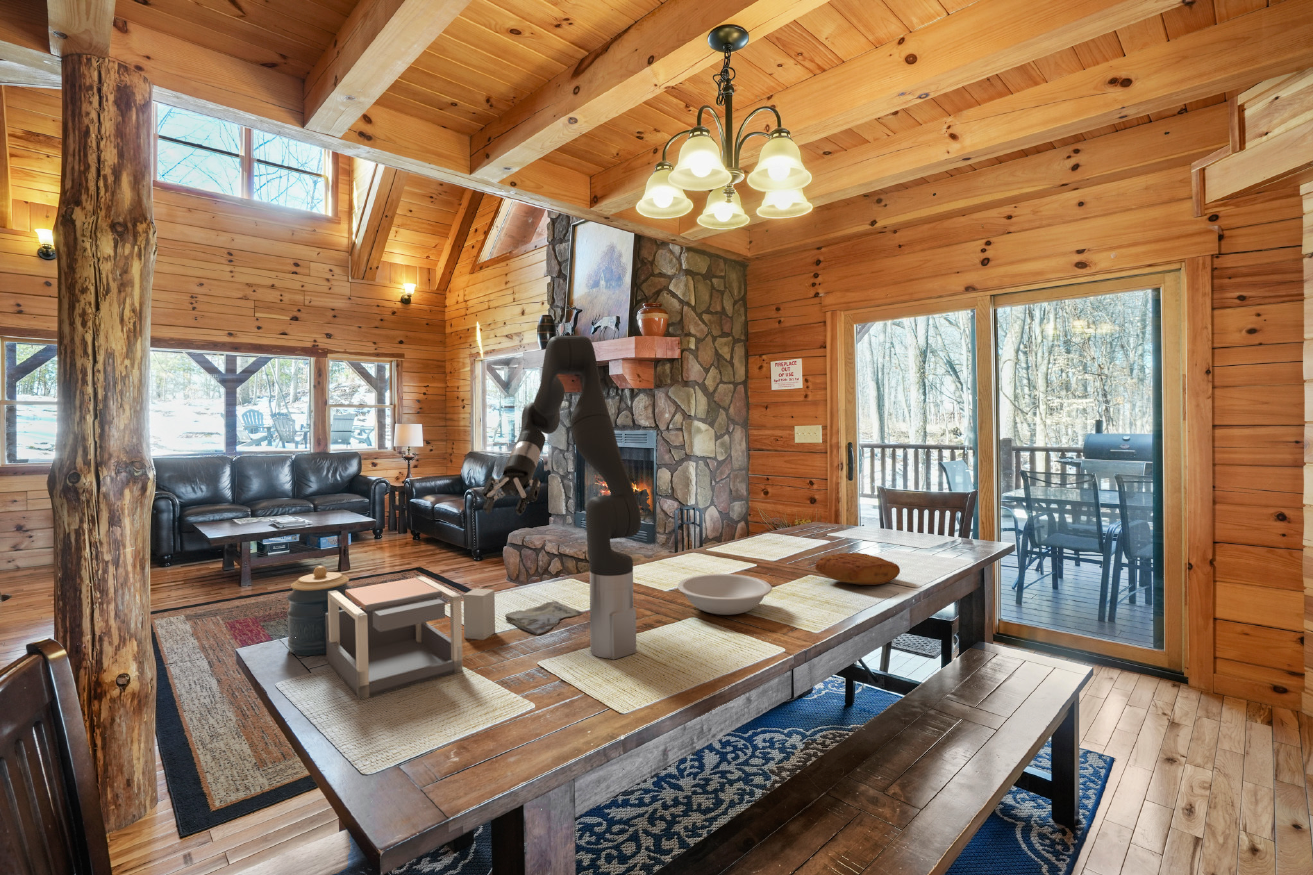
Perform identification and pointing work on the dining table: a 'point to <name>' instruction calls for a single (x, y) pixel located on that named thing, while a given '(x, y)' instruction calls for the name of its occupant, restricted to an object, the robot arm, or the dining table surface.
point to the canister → (312, 610)
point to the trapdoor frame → (389, 647)
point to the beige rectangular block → (479, 614)
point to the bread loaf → (857, 568)
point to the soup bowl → (724, 592)
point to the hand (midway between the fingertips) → (502, 512)
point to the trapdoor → (399, 603)
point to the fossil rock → (541, 617)
